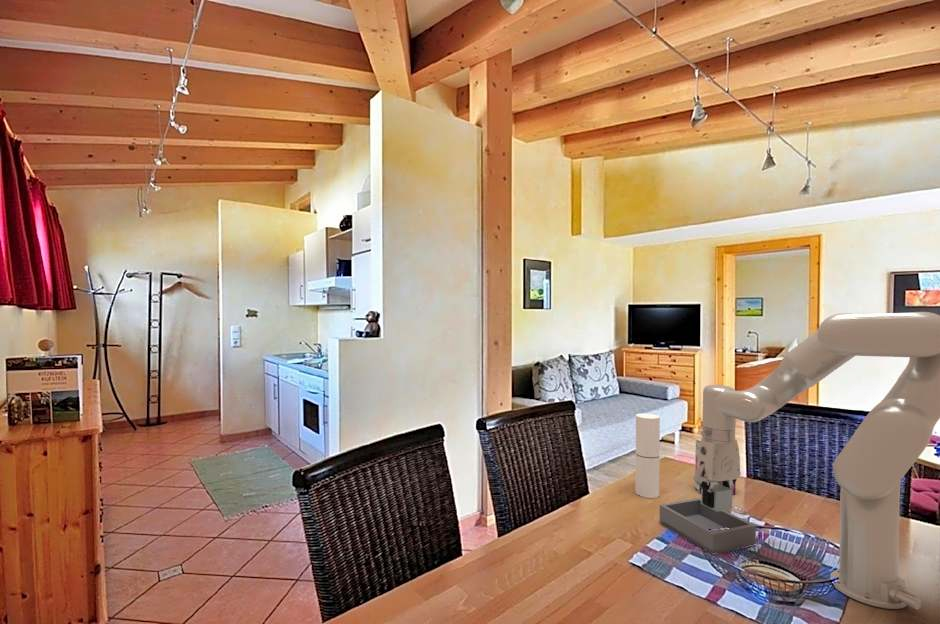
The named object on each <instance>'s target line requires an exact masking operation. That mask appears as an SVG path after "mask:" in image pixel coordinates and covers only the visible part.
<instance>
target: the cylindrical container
mask: <svg viewBox="0 0 940 624" xmlns="http://www.w3.org/2000/svg"><path fill="white" fill-rule="evenodd" d="M660 420H661V419H660V415H657V414H654V413H644V412H643V413H637V414H635V481H634V482H635V485H634V486H635V489H634V490H635V494H636V495H637V494H638V496H639V495H640V496H639V497H642V496H643V497H642V498H646V499H656V498H659V497H660V445H661V444H660V438H661V437H660V429H661V427H660V426H661V425H660V422H661V421H660ZM658 496H659V497H658Z"/></svg>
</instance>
